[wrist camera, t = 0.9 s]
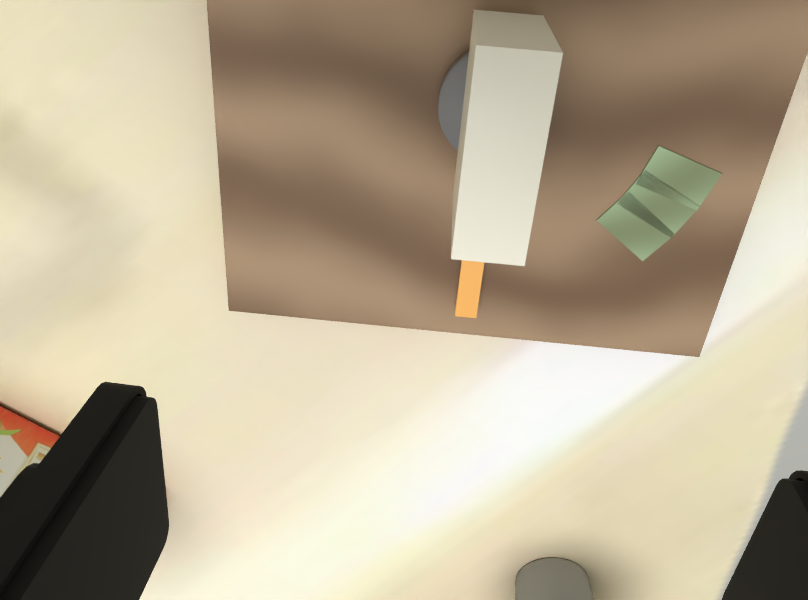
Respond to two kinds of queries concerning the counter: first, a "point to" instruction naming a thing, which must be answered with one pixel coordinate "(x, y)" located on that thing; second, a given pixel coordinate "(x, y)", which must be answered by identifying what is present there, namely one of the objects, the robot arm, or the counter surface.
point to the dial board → (436, 162)
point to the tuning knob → (497, 140)
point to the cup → (552, 581)
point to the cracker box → (20, 445)
